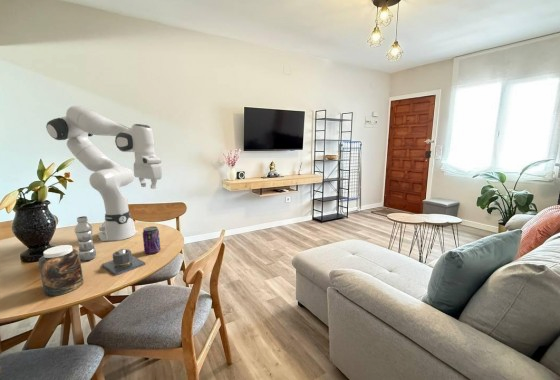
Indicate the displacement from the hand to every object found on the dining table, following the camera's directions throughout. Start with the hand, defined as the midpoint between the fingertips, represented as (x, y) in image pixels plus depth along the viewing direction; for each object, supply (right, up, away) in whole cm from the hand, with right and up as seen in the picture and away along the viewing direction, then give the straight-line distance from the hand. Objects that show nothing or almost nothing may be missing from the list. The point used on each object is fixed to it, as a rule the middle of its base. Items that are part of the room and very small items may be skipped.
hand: (148, 187), depth 129 cm
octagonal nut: (-4, -32, -14) cm, 35 cm away
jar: (-16, -38, -30) cm, 51 cm away
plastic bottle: (-24, -33, -7) cm, 42 cm away
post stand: (-4, -34, -13) cm, 37 cm away
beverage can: (+2, -32, +1) cm, 32 cm away
